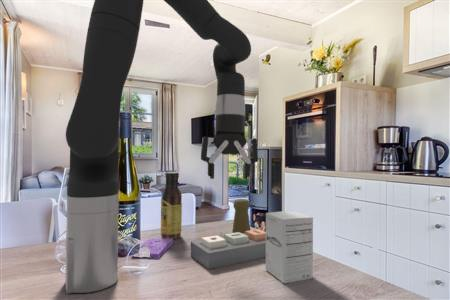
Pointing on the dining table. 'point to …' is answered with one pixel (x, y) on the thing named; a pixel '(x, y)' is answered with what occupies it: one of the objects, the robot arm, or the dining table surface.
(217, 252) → the keypad
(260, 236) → the terracotta key
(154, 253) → the sponges
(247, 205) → the cork
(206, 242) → the cream key
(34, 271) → the dining table surface
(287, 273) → the supplement box
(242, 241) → the sage key
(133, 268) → the dining table surface
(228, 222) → the dining table surface
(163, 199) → the sauce bottle
